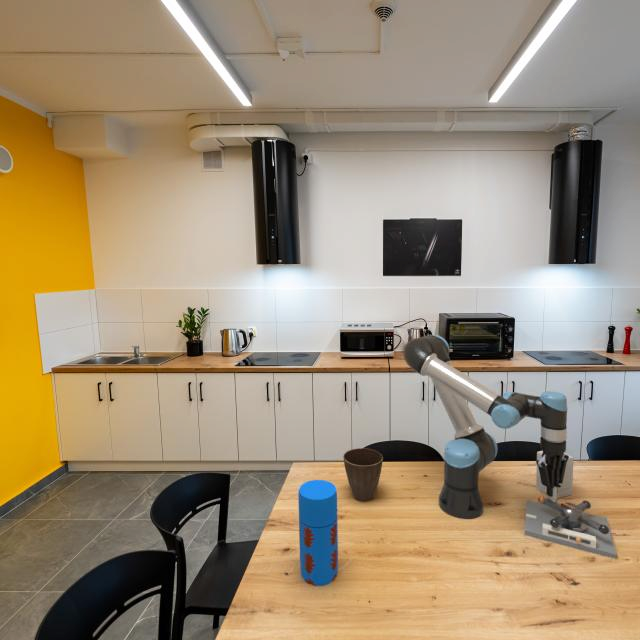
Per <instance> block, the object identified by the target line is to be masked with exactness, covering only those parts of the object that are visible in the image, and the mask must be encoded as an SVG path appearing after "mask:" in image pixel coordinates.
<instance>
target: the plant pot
mask: <svg viewBox="0 0 640 640" xmlns="http://www.w3.org/2000/svg"><path fill="white" fill-rule="evenodd" d="M342 457H343V464H344V465H343V466H344V469H345V473H346V477H347V481H348V485H349V487H350V490H351V493H352V496H353V497H354V499H355V500H357V501H359V502H369V501H371V500H372V499H373V498H374V496H375V494H376V491H377V488H378V485H379V481H380V477H381V473H382V467H383V460H384V457H383V454H382V453H380V452H379V451H377V450H375V449H371V448H365V447H364V448H362V447H361V448H353V449H349V450H348V451H346V452H345V453H343V456H342Z"/></svg>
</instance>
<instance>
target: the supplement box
mask: <svg viewBox="0 0 640 640" xmlns="http://www.w3.org/2000/svg"><path fill="white" fill-rule="evenodd" d="M542 453H543V450H540V451H537V452H536V461H537V460H539V461H540V460H541V459H542ZM564 454H565V455H568V456H569V459H568V461H567V463H566V468H565V473H564V478H563V483H562V484H561V483H560V484H559V485H561V487H560V488H559V487H558V491H557V499H560V498H563V497H568V496H571V495H573V479H574V478H573V477H574V461H575V460H574V456H571V455H569V454H567V453H566V452H564ZM535 474H536V475H535V476H536V478H535V479H536V480H535V489H537V490H540V492H543V494H546V495H547V487H546V486H544V485H542V483H541V478H540V473H539V467H538V465H537V464H536V473H535ZM559 479H560V478H559Z"/></svg>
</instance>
